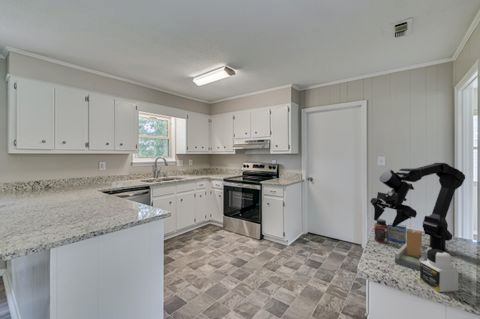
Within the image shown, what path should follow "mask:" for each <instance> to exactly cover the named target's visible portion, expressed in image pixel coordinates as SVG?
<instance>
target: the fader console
mask: <svg viewBox="0 0 480 319" xmlns="http://www.w3.org/2000/svg"><path fill="white" fill-rule="evenodd" d="M429 249H432V248H431V247H428V246H427V248H426V250H425V249H422V251H421V256H420V257H415V256H412V255H408V254H406V253H407V241H406V243H405V244H404V243H403V245H402V246H401V247H400V248H399V249H398V250H397V251H396V252H395V253H394V264H397V265H401V266H404V267H406V268H407V267H408V268H410V269H414V270H416V271H420V261H427V251H428V250H429Z"/></svg>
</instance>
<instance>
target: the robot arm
mask: <svg viewBox="0 0 480 319" xmlns="http://www.w3.org/2000/svg"><path fill="white" fill-rule="evenodd" d="M434 174H435V175H436V177H437V178H439V179H438V182H439V185H440V189H439V193H438V195H437V197H436V201H435V202H434V203H435V204H434V207H433V209H432V212H431V214H429V215H425V216H424V217H423V221H422V230H423V233H424V235H427V236H429V245H428V246H427V248H428V247H431V248H432V249H438V250H442V251H445V252H447V253H448V250H449V249H448V248H447V247H446V246H447V241H449V242H450V241H451V240H452V238H453V234H452V233H451V232H450V231H449V230H448V227H449V225H448V221H447V220H446V219H447V214H448V212H449V209H450V206H451V203H452V200H453V197H454V194H455V191H456V190H457V189H459V188H460V187H462V185H463V183H464V182H465V179H466V175H465V174H464V173H463V172H462V171H460V170H459V169H458V168H456V167H453V166H451V165H449V164H448V163H446V162H434V163H431V164H427V165H424V166H419V167H415V168H401V169H399V170H398V171H396V172H395V171H393V170H392V169H387V170H386V171H385V172H383V173H382V174H380V176H379V182H381V183H382V184H383V185H385V186H386V187H388V188H389V189H391V191H387V193H386V192H380V191H377V196H376V197H372V198H371V200H370V203H371V205H372V206H373V209H374V213H373V214H374V215H373V221H375V222H377V220H378V219H380V217H381V216H382V214H383V213H384V212H385V209H386V208H387V209H391V210H396V215H395V217H394V218H393V222H392V223H393V224H392V227H395V226H397V225H398V224H400V225H401V224H402V223H404V222H405V221H407V220H408V219H410V220H411V219H412V218H416V216H417V215H418V213H417V210H415V209H414V208H413V207H411V206H410V205H407V204H403V203H404V202H407V200H408V199H407V198H406V197H407V195H408V193H409V191H411V190H415V187H414V186H413V184H412V183H416V182H418V181H420V180H422V178H423V177H427V176H430V175H434ZM408 182H410V183H408Z"/></svg>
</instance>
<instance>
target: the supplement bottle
mask: <svg viewBox="0 0 480 319" xmlns="http://www.w3.org/2000/svg"><path fill="white" fill-rule="evenodd" d="M374 241H376V242H377V243H380V244H388V242H389V241H388V224H387V221H386V220H385V219H380V218H378V220H377V221H376V223H374Z"/></svg>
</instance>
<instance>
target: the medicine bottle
mask: <svg viewBox="0 0 480 319" xmlns="http://www.w3.org/2000/svg"><path fill="white" fill-rule="evenodd" d="M451 261H452V256H451V254H449V252H448V251H447V252H445V251H442V250H438V249H429V250H428V251H427V261H420V272H419V280H420V281H421V282H422V283H423V284H425V285H427V286H428V287H430V288H432V289H433V290H435V291H436V292H438V293H443V292H444V293H445V292H458V291H459V269H457V268H454V267H452V265H451V264H452V262H451Z"/></svg>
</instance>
